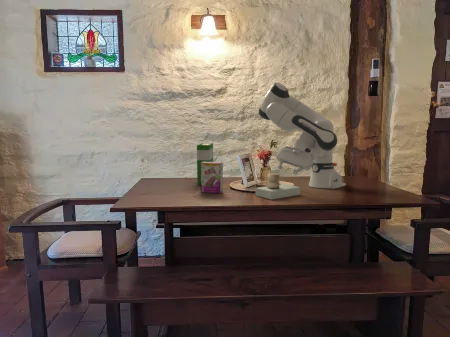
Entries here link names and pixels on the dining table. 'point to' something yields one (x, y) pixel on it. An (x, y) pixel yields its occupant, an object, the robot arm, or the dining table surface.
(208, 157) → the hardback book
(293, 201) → the dining table surface
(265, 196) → the board
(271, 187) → the peg
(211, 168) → the candy bar box
